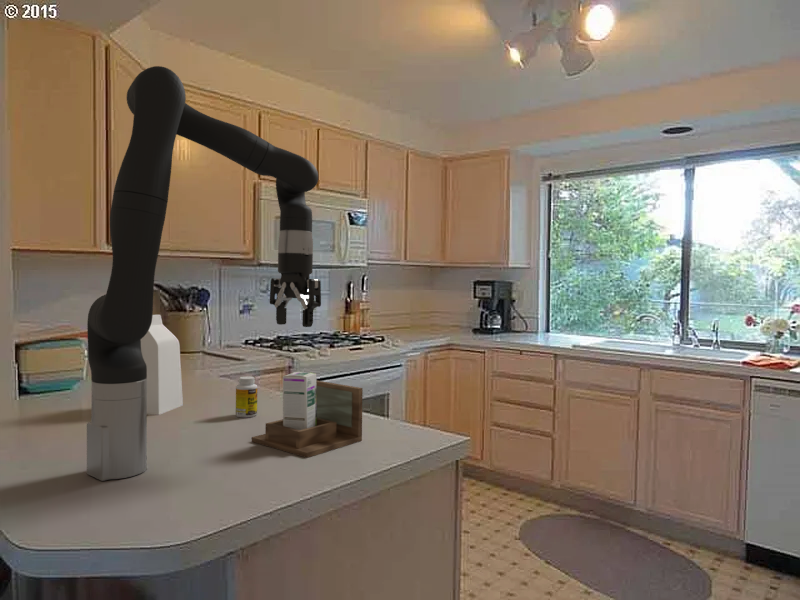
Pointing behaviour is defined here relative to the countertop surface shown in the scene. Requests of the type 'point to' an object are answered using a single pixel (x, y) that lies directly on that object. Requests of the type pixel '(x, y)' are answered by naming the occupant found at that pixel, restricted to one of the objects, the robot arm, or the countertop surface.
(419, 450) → the countertop surface
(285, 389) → the syrup box
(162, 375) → the milk
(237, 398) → the supplement bottle
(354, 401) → the display stand
